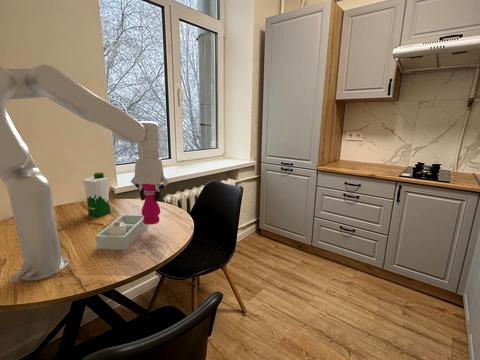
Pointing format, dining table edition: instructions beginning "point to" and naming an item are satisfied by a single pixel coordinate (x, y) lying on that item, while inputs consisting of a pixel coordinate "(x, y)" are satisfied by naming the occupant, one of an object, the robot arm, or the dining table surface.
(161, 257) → the dining table surface
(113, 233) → the salt cellar
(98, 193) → the milk carton
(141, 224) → the grey divided tray
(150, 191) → the pepper mill
